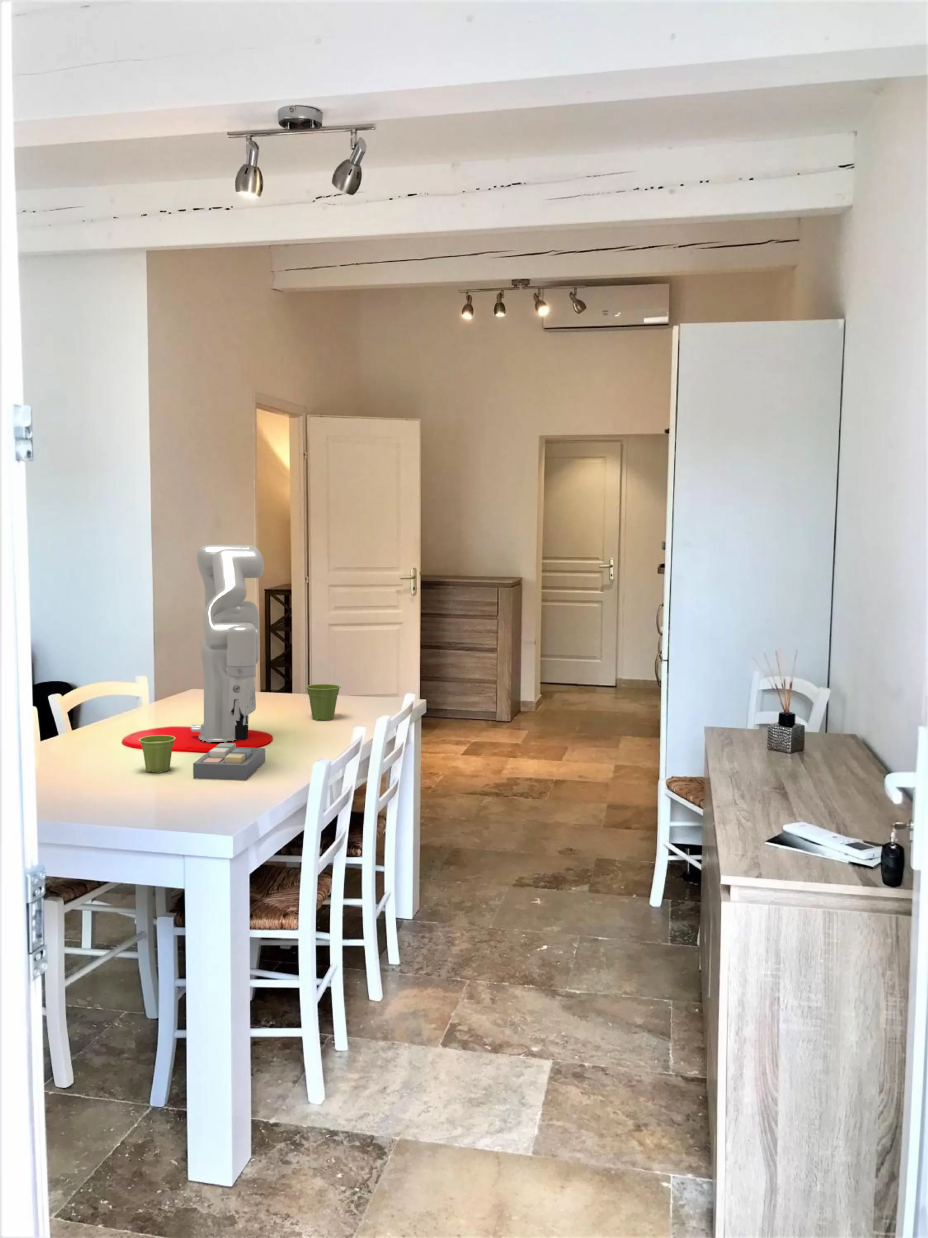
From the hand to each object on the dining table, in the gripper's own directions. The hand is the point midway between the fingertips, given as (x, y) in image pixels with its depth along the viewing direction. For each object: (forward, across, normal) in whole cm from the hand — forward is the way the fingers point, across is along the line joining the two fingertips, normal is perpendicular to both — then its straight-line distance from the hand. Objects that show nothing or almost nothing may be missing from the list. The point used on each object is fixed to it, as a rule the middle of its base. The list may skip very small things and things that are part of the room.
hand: (241, 739), depth 274 cm
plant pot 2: (+8, +74, -8) cm, 74 cm away
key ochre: (+6, -6, 0) cm, 8 cm away
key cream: (+6, 0, +6) cm, 9 cm away
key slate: (+6, 0, 0) cm, 6 cm away
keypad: (+9, 0, +3) cm, 9 cm away
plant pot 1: (+9, -2, +22) cm, 24 cm away
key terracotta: (+8, -6, +6) cm, 11 cm away
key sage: (+6, +6, +6) cm, 11 cm away
